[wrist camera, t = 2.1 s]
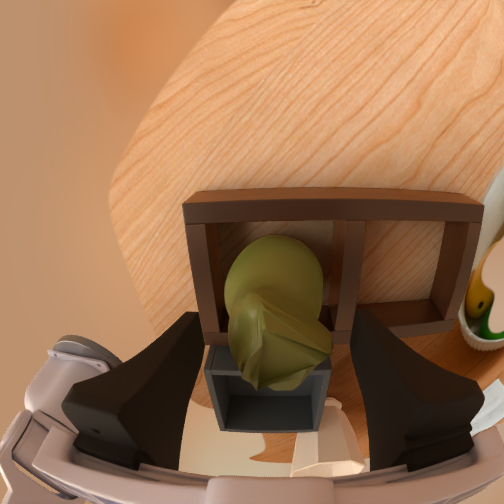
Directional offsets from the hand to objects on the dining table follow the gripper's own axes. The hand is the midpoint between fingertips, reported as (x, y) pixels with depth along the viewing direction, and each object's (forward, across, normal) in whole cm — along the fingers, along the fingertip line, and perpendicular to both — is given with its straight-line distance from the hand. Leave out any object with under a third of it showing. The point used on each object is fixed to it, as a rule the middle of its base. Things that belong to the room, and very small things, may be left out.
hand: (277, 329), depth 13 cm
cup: (+7, -5, +19) cm, 21 cm away
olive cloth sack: (+7, 0, 0) cm, 7 cm away
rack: (+7, -4, 0) cm, 8 cm away
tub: (+7, +1, +10) cm, 12 cm away
